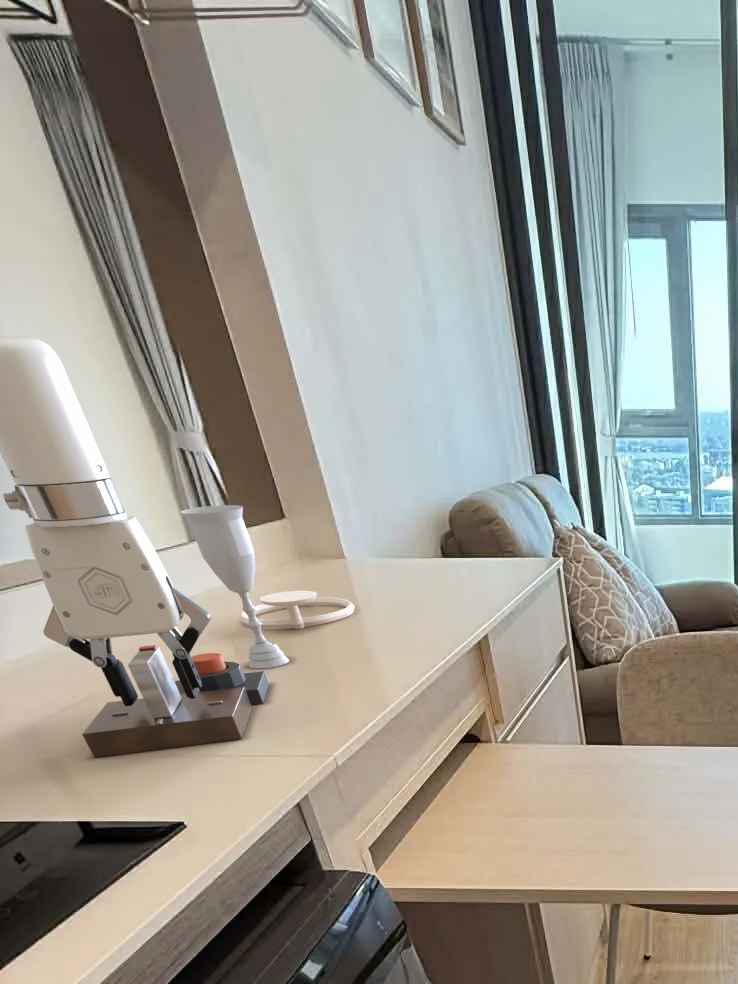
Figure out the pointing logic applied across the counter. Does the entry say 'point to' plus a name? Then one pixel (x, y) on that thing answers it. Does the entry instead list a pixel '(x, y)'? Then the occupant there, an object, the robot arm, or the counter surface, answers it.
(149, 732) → the block
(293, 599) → the hand towel holder
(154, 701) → the grey metal plate
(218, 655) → the button
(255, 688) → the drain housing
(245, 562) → the chalice
